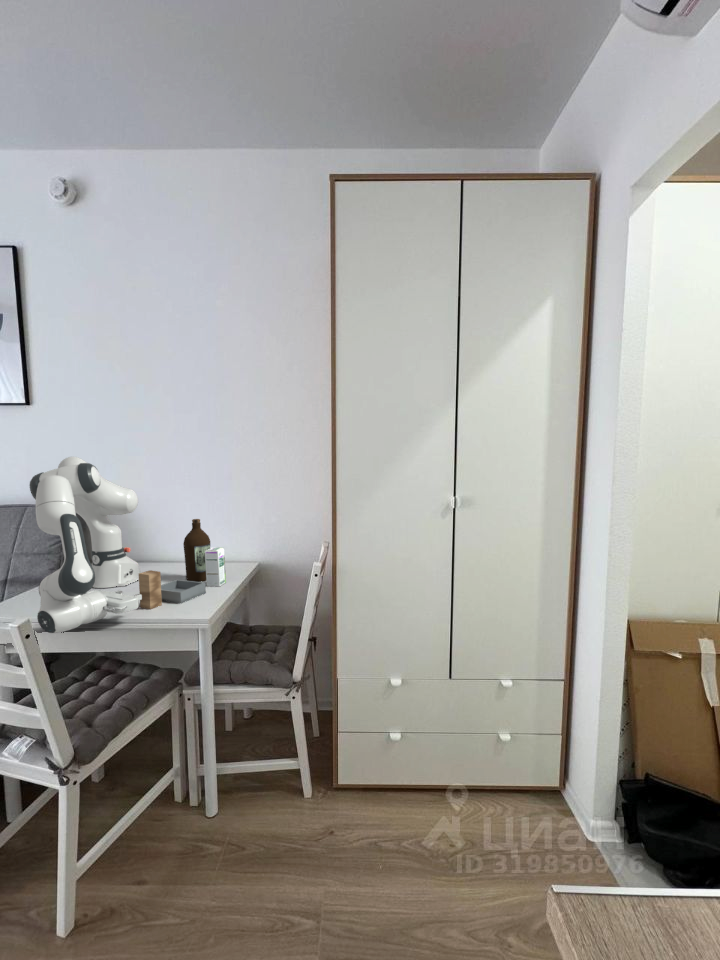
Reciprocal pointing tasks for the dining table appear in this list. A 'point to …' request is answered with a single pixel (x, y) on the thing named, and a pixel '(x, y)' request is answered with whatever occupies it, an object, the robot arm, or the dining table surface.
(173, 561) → the dining table surface
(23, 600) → the dining table surface
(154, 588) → the wooden block
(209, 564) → the syrup box
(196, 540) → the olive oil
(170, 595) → the bin
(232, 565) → the dining table surface
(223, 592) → the dining table surface
